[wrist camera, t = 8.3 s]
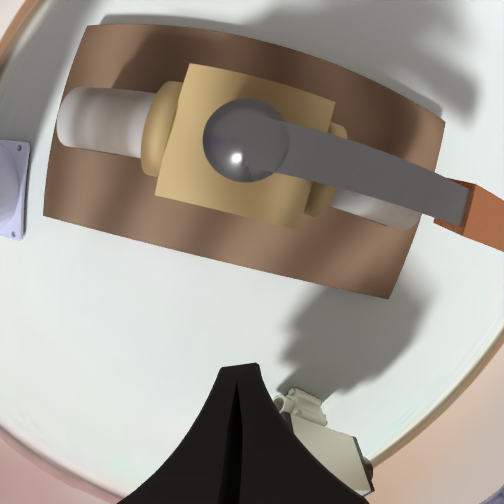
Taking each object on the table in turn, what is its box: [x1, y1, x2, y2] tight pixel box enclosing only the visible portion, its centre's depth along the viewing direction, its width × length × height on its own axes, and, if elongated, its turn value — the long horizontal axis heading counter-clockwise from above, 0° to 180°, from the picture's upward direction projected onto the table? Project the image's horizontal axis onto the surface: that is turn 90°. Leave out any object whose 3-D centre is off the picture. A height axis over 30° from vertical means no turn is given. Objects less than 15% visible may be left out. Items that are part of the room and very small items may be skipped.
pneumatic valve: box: [272, 388, 375, 497], centre depth 19 cm, size 6×12×12 cm, turn 51°
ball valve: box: [43, 24, 445, 299], centre depth 13 cm, size 26×14×7 cm, turn 75°
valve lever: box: [203, 98, 504, 252], centre depth 10 cm, size 15×3×2 cm, turn 78°
